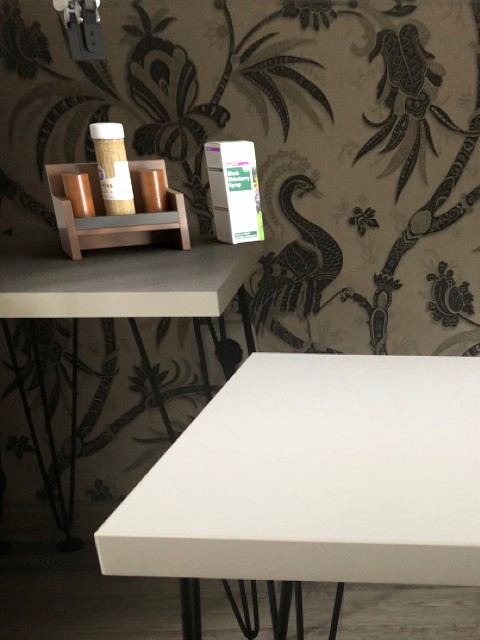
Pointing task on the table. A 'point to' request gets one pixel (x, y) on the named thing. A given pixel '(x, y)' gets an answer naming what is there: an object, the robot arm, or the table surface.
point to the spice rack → (116, 230)
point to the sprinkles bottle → (113, 168)
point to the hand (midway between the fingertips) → (88, 60)
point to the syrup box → (234, 191)
